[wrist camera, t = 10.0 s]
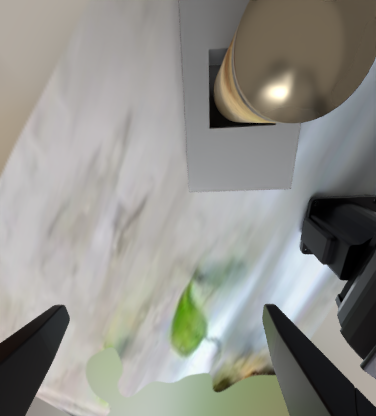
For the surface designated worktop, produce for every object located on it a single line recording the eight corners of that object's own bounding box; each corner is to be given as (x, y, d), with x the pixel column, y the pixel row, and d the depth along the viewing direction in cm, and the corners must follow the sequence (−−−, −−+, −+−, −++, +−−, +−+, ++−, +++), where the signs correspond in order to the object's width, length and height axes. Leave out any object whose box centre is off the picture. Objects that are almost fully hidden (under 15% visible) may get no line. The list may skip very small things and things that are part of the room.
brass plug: (277, 51, 13) (407, -63, 5) (270, 120, 14) (360, 120, 6) (213, 55, 13) (238, -46, 5) (213, 124, 14) (232, 126, 7)
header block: (295, -22, 14) (330, -73, 10) (273, 176, 20) (290, 188, 16) (181, -11, 15) (175, -56, 11) (190, 179, 20) (188, 192, 16)
